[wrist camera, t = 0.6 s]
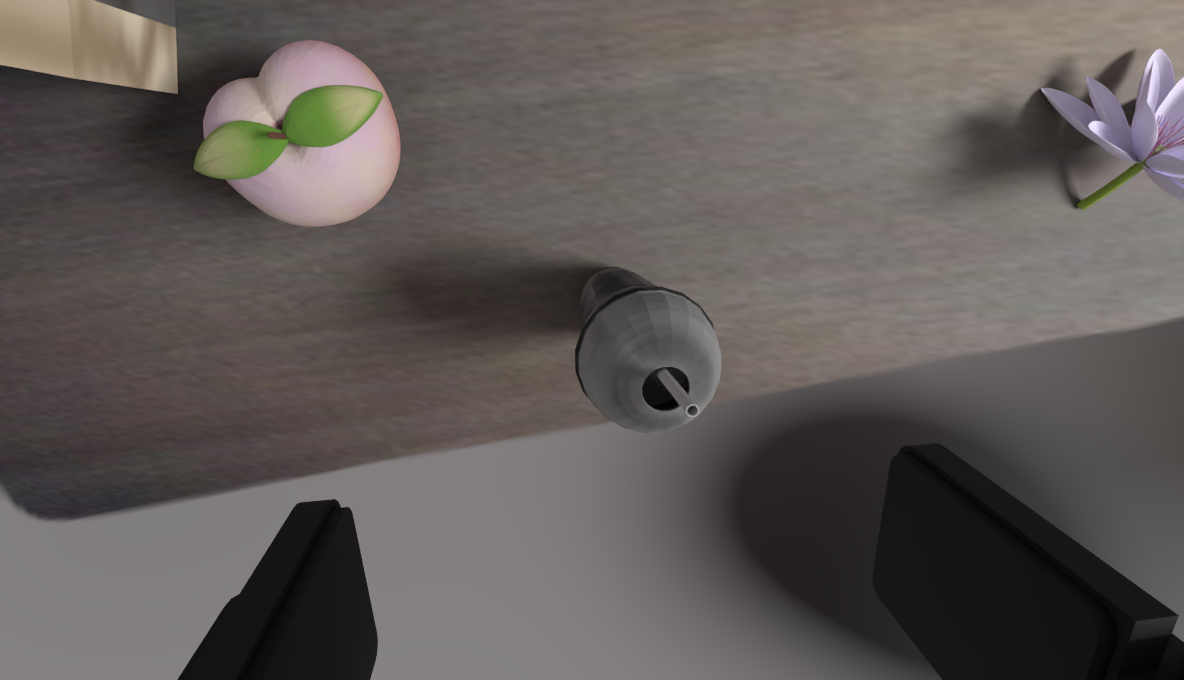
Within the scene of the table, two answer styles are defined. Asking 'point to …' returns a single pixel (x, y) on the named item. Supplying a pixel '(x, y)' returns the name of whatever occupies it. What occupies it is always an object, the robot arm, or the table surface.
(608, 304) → the beverage cup
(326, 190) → the decorative fruit
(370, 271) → the table surface
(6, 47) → the band block
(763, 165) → the table surface
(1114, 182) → the water lily
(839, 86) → the table surface
